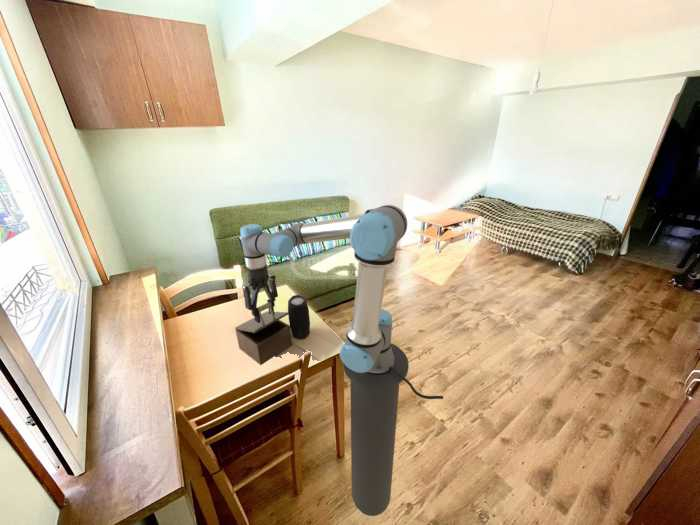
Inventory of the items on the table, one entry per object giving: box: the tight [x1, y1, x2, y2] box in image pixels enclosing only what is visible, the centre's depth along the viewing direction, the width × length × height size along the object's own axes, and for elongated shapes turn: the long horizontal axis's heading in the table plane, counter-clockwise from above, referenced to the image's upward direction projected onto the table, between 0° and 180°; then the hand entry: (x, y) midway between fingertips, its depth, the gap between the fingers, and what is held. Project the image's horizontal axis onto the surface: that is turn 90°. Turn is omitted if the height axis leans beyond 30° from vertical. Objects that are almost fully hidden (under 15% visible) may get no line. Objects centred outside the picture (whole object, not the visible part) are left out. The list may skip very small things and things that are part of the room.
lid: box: [234, 302, 288, 333], centre depth 115 cm, size 17×16×8 cm
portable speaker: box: [287, 294, 311, 340], centre depth 123 cm, size 9×9×20 cm
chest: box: [234, 319, 293, 366], centre depth 119 cm, size 16×16×10 cm
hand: (264, 317), depth 113 cm, fingers closed on lid, 6 cm apart
